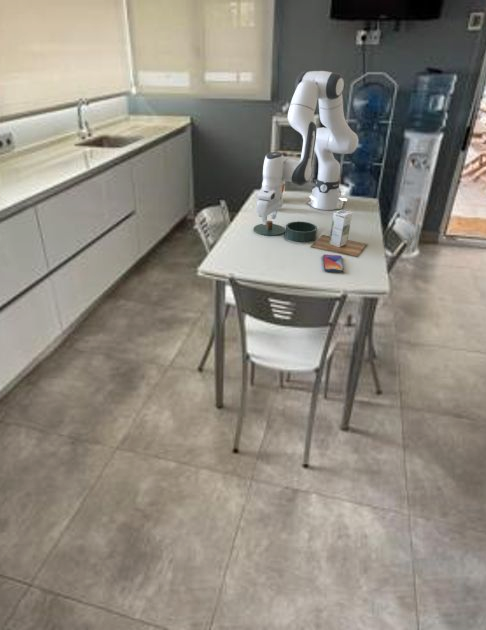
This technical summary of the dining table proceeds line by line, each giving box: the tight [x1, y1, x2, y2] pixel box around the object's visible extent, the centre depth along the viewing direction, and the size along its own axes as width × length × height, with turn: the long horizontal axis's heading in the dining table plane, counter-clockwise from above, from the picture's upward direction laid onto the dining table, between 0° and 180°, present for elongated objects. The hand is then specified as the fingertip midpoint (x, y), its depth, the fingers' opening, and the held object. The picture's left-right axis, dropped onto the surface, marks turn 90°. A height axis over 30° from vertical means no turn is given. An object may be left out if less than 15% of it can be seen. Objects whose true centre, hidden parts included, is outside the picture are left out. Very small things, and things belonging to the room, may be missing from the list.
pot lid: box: [252, 220, 286, 237], centre depth 207 cm, size 15×15×5 cm
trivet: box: [311, 234, 367, 258], centre depth 195 cm, size 15×20×1 cm
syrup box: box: [329, 209, 353, 248], centre depth 191 cm, size 6×6×14 cm
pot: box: [284, 220, 318, 244], centre depth 201 cm, size 14×14×5 cm
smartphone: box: [322, 253, 345, 273], centre depth 178 cm, size 7×15×1 cm, turn 171°
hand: (269, 221), depth 206 cm, fingers open, 8 cm apart
